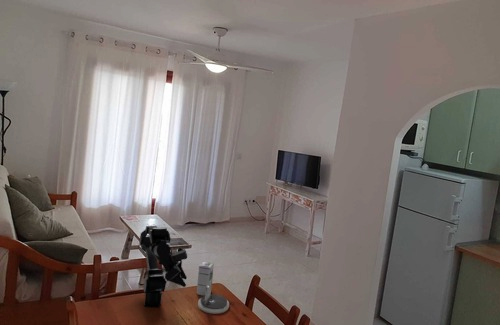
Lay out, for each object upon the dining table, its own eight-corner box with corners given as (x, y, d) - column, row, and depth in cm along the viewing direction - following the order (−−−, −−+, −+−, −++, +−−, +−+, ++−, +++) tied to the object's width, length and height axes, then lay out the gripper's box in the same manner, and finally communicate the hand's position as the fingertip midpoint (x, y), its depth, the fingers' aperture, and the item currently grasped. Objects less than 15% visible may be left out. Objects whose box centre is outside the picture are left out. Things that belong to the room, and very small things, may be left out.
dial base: (196, 312, 164) (197, 308, 163) (199, 297, 177) (199, 294, 177) (229, 314, 165) (229, 311, 165) (228, 299, 179) (228, 296, 178)
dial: (195, 301, 170) (196, 282, 169) (212, 293, 179) (214, 275, 178) (215, 312, 163) (217, 292, 162) (232, 303, 172) (234, 284, 171)
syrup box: (207, 296, 179) (210, 267, 178) (196, 294, 180) (198, 265, 179) (211, 291, 185) (214, 263, 183) (200, 289, 186) (202, 261, 184)
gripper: (176, 248, 153) (200, 277, 155) (179, 238, 172) (200, 264, 174) (154, 266, 152) (178, 295, 154) (159, 253, 171) (181, 279, 173)
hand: (185, 282), depth 164 cm, fingers open, 9 cm apart
